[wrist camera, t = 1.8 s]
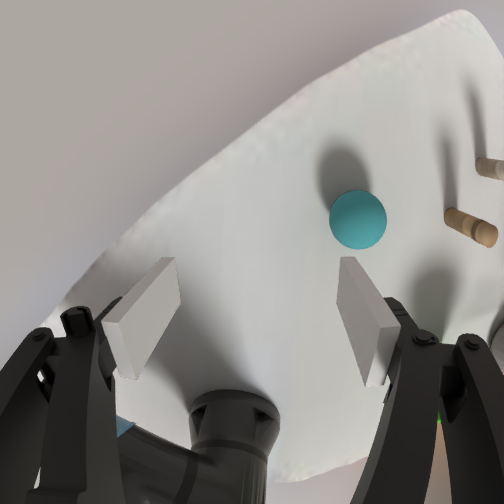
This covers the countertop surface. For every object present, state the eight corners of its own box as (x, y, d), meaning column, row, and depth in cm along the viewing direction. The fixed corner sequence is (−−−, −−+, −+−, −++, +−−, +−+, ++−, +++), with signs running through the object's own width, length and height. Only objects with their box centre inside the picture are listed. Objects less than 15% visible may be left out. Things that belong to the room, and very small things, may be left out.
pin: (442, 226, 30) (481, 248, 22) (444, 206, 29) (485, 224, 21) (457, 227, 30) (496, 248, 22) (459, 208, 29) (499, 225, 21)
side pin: (475, 175, 27) (517, 184, 19) (475, 156, 27) (518, 161, 19) (487, 177, 27) (529, 187, 19) (487, 158, 26) (530, 165, 18)
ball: (324, 239, 32) (334, 258, 26) (325, 186, 30) (336, 193, 24) (373, 239, 32) (392, 257, 26) (376, 188, 30) (397, 196, 24)
